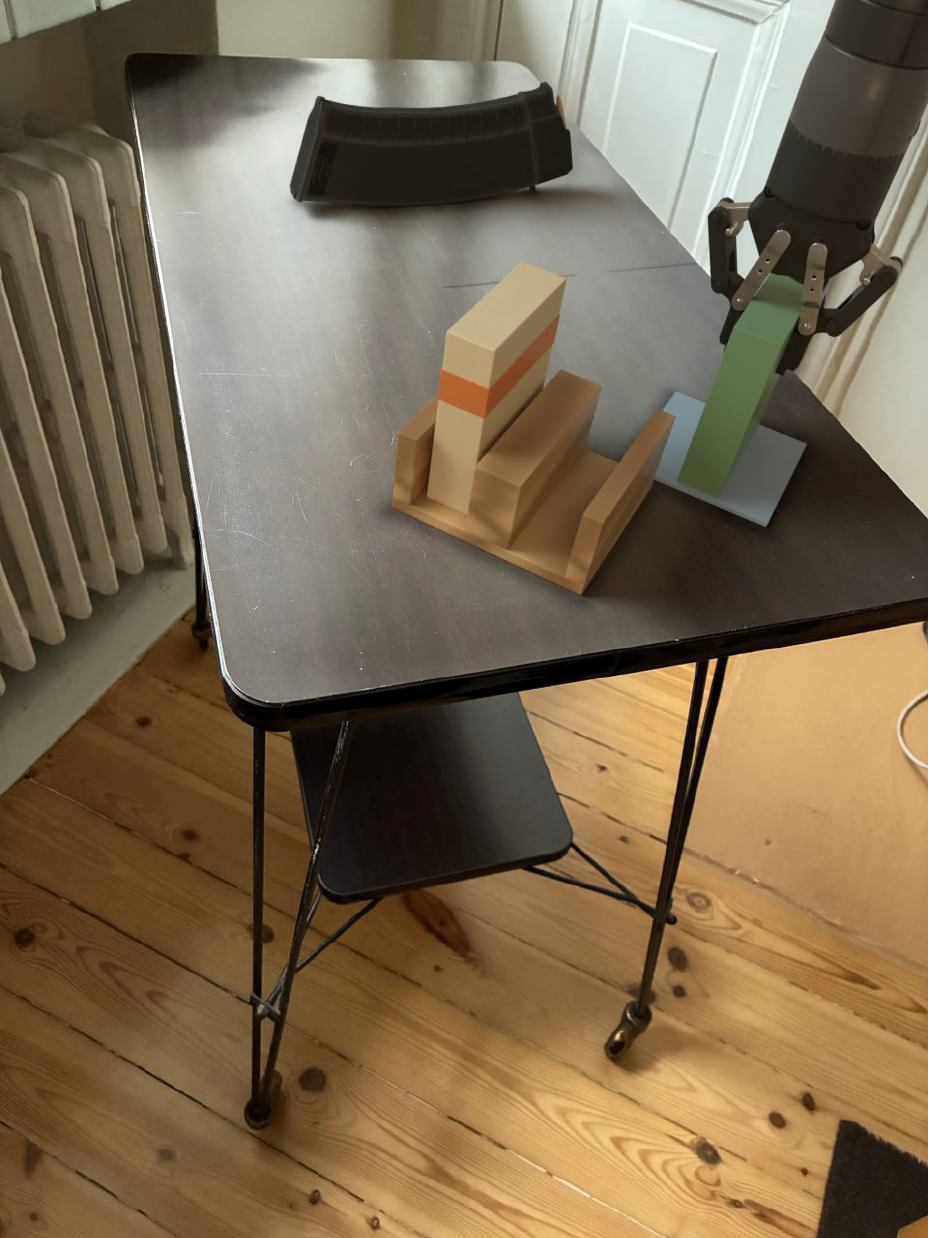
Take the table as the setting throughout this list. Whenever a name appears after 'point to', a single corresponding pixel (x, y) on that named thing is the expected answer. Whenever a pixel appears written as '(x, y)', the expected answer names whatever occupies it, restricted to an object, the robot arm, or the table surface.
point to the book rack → (539, 484)
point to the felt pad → (752, 478)
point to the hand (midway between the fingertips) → (756, 358)
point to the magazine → (431, 151)
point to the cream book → (491, 375)
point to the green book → (742, 385)
